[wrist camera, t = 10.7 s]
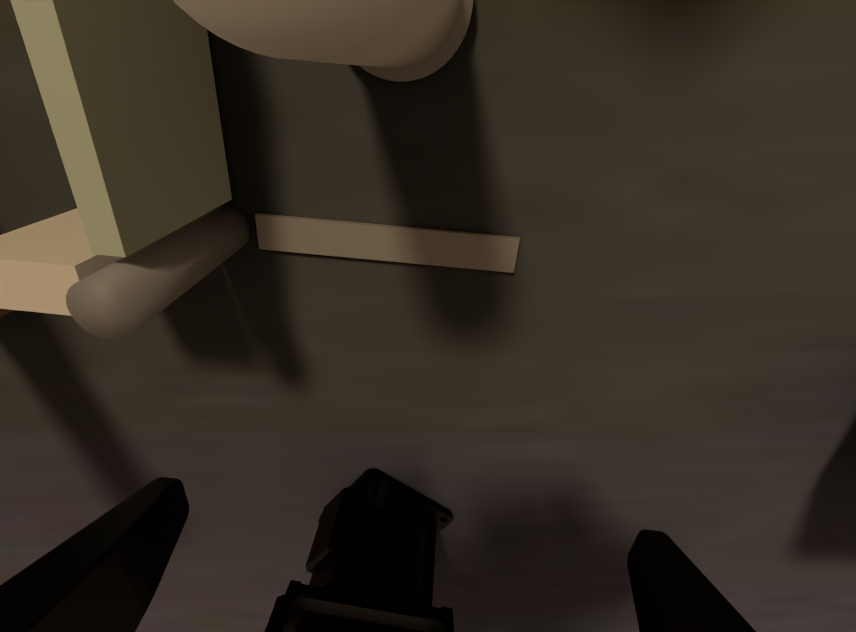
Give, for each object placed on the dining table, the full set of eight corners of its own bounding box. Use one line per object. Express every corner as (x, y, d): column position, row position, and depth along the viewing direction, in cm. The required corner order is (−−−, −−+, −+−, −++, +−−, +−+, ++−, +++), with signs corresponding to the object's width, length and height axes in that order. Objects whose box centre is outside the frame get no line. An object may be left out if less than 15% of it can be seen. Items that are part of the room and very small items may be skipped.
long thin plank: (120, 238, 20) (-59, 323, 13) (107, 195, 19) (-92, 263, 12) (512, 274, 20) (539, 383, 13) (520, 232, 19) (553, 325, 12)
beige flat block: (231, 199, 19) (125, 257, 13) (177, 194, 19) (46, 250, 13) (179, -159, 13) (-45, -343, 7) (103, -164, 13) (-180, -351, 8)
